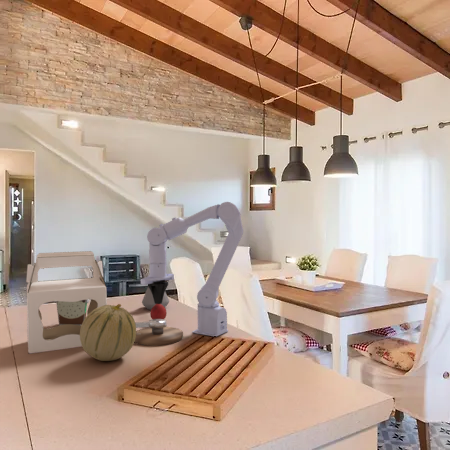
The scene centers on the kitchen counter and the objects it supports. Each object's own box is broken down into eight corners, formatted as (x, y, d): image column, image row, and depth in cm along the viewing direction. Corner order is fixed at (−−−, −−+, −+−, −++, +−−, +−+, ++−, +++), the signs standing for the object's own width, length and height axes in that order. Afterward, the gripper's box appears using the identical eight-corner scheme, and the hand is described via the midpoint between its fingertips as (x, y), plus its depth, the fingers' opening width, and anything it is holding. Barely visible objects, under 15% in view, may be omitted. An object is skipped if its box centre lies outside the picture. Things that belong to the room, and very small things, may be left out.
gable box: (27, 354, 116) (26, 255, 116) (26, 341, 128) (25, 252, 128) (107, 343, 126) (106, 252, 126) (100, 332, 138) (99, 249, 138)
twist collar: (165, 323, 134) (165, 317, 134) (167, 327, 129) (167, 321, 129) (120, 326, 131) (120, 320, 131) (120, 331, 126) (120, 324, 125)
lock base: (192, 335, 134) (192, 324, 134) (160, 348, 120) (160, 336, 120) (155, 328, 142) (155, 318, 142) (121, 340, 129) (121, 329, 129)
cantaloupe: (79, 354, 116) (79, 301, 116) (132, 348, 121) (132, 297, 121) (80, 372, 102) (80, 312, 102) (140, 364, 107) (140, 307, 107)
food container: (94, 321, 154) (94, 294, 153) (87, 325, 147) (87, 297, 147) (63, 320, 155) (62, 293, 155) (54, 324, 149) (54, 297, 148)
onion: (158, 326, 145) (157, 303, 145) (147, 323, 149) (146, 301, 149) (169, 323, 150) (169, 301, 150) (158, 320, 153) (158, 299, 153)
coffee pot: (138, 307, 177) (137, 272, 177) (162, 304, 183) (162, 270, 183) (157, 317, 159) (156, 278, 159) (184, 313, 165) (183, 276, 165)
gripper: (162, 260, 147) (163, 298, 147) (133, 264, 135) (134, 306, 135) (178, 261, 143) (178, 300, 143) (149, 265, 131) (150, 308, 131)
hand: (158, 303), depth 139 cm, fingers closed
